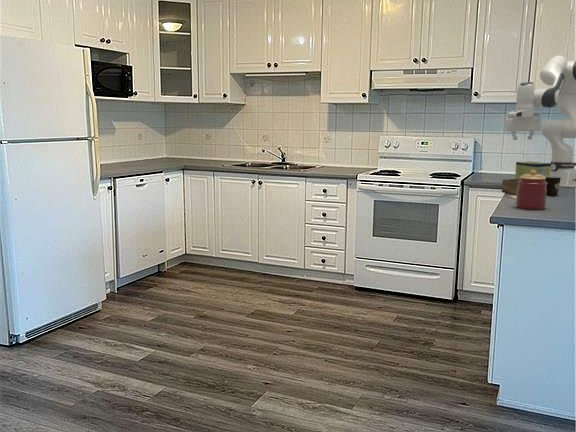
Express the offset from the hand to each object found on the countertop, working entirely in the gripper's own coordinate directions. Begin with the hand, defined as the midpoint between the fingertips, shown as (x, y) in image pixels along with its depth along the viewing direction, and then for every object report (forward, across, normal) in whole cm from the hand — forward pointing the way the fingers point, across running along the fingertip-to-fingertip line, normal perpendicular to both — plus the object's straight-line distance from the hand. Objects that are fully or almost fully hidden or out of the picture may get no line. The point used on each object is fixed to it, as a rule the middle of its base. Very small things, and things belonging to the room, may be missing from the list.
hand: (522, 139), depth 296 cm
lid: (+30, +8, +14) cm, 34 cm away
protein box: (+29, -16, -9) cm, 35 cm away
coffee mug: (+29, -10, +11) cm, 33 cm away
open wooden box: (+29, 0, 0) cm, 29 cm away
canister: (+29, +24, +38) cm, 54 cm away
